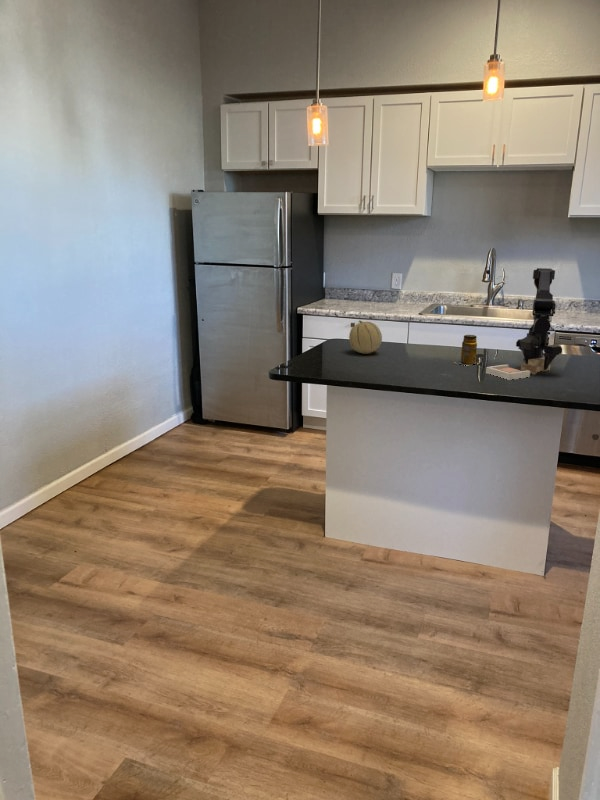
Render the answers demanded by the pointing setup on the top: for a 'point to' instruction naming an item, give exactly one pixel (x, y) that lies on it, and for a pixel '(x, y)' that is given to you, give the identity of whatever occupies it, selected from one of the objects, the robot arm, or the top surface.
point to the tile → (509, 370)
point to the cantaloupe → (365, 337)
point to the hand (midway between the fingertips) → (536, 367)
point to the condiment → (468, 350)
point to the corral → (509, 376)
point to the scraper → (534, 365)
